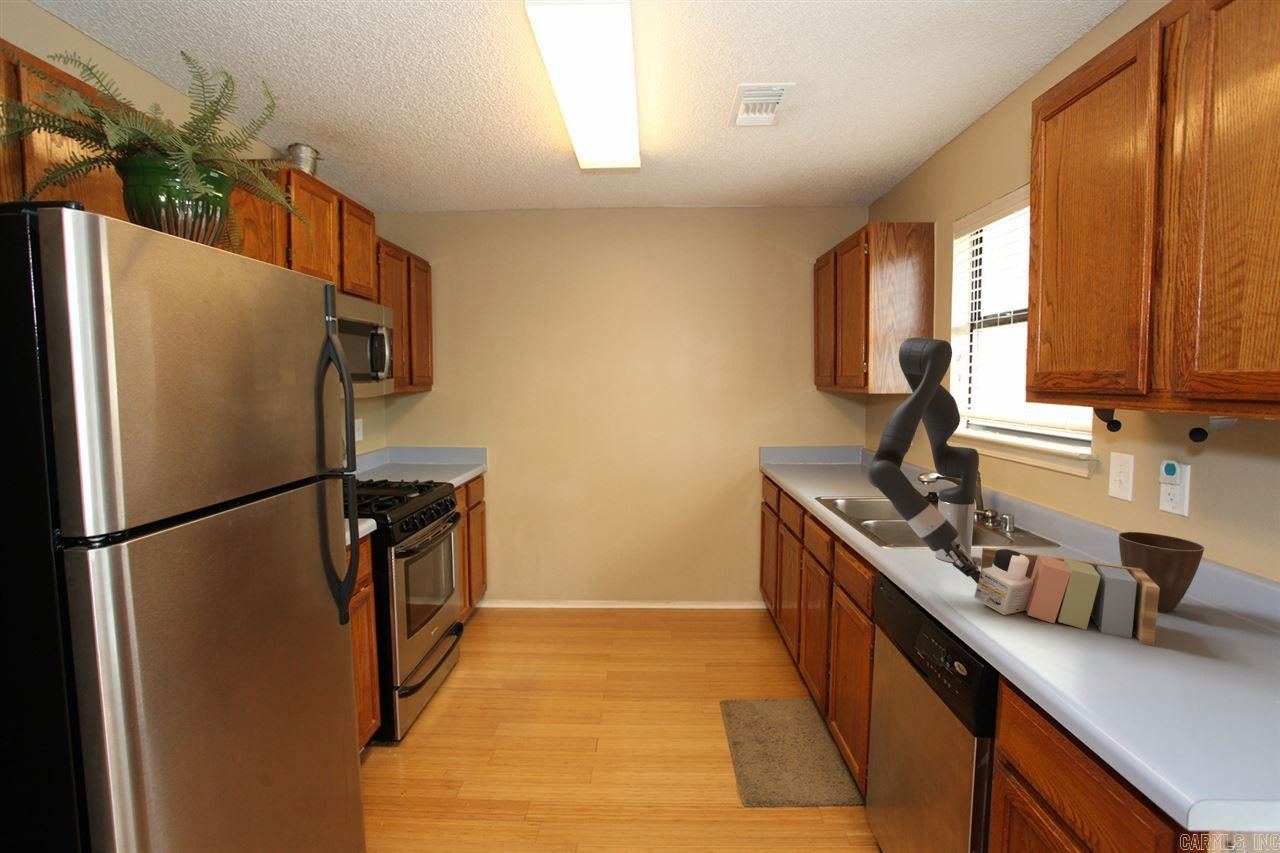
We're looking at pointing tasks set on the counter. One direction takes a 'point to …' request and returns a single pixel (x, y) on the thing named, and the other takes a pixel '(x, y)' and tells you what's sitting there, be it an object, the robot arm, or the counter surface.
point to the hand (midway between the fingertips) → (986, 586)
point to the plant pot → (1162, 563)
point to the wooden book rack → (1142, 612)
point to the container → (1005, 583)
